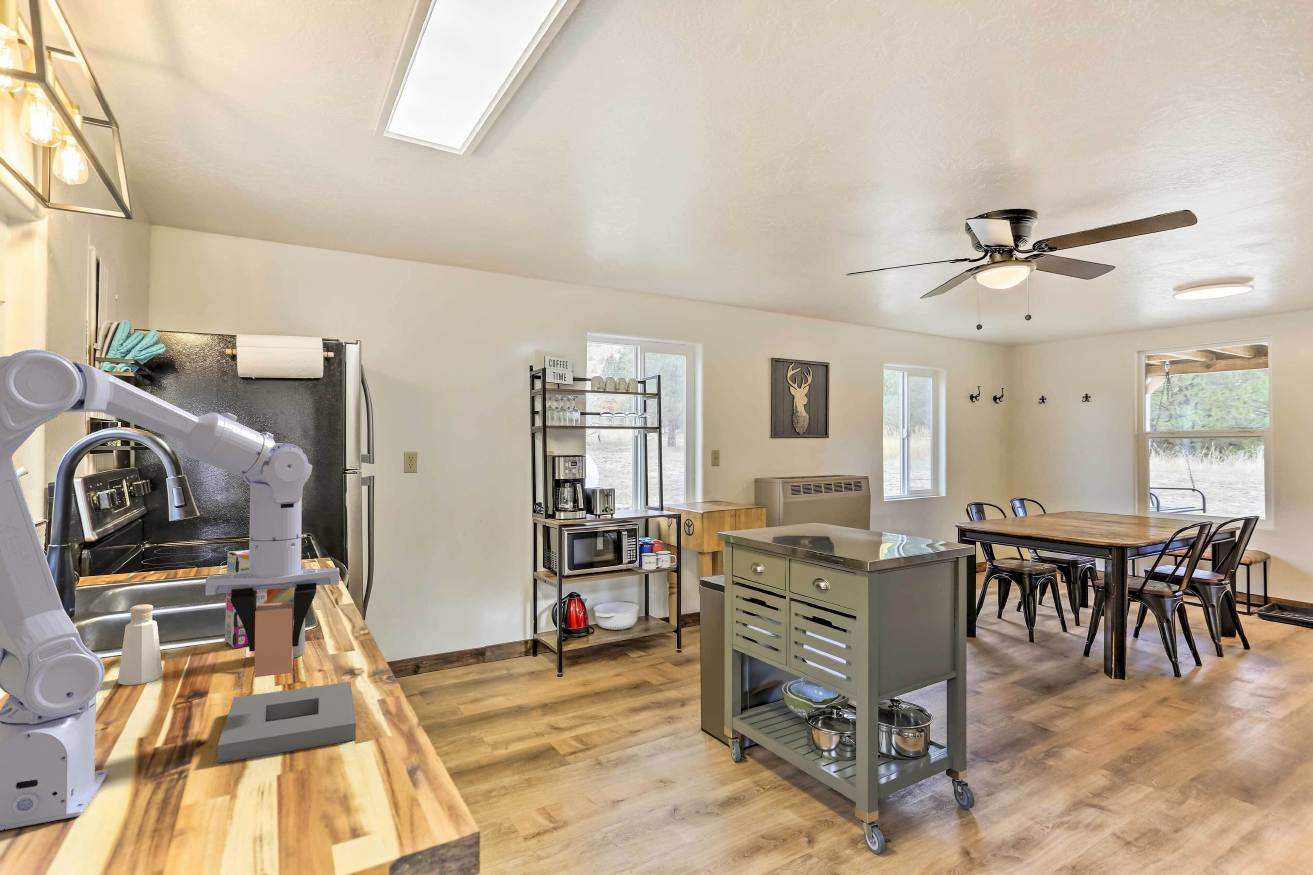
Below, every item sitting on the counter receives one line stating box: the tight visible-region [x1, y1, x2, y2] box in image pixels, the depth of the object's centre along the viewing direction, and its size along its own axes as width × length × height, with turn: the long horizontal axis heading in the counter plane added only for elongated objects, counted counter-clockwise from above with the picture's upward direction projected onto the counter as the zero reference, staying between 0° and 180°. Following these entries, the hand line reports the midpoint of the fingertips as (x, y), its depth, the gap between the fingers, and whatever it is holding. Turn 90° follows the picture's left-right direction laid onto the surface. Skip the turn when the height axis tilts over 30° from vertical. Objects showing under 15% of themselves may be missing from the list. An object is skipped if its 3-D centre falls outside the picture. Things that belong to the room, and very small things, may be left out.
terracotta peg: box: [254, 602, 294, 678], centre depth 85 cm, size 4×4×8 cm
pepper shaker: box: [117, 603, 164, 686], centre depth 102 cm, size 5×5×11 cm
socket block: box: [217, 681, 357, 764], centre depth 86 cm, size 16×14×2 cm
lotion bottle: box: [267, 562, 307, 659], centre depth 114 cm, size 6×6×20 cm
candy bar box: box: [224, 548, 303, 649], centre depth 123 cm, size 11×5×16 cm, turn 141°
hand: (274, 646), depth 85 cm, fingers closed on terracotta peg, 4 cm apart
